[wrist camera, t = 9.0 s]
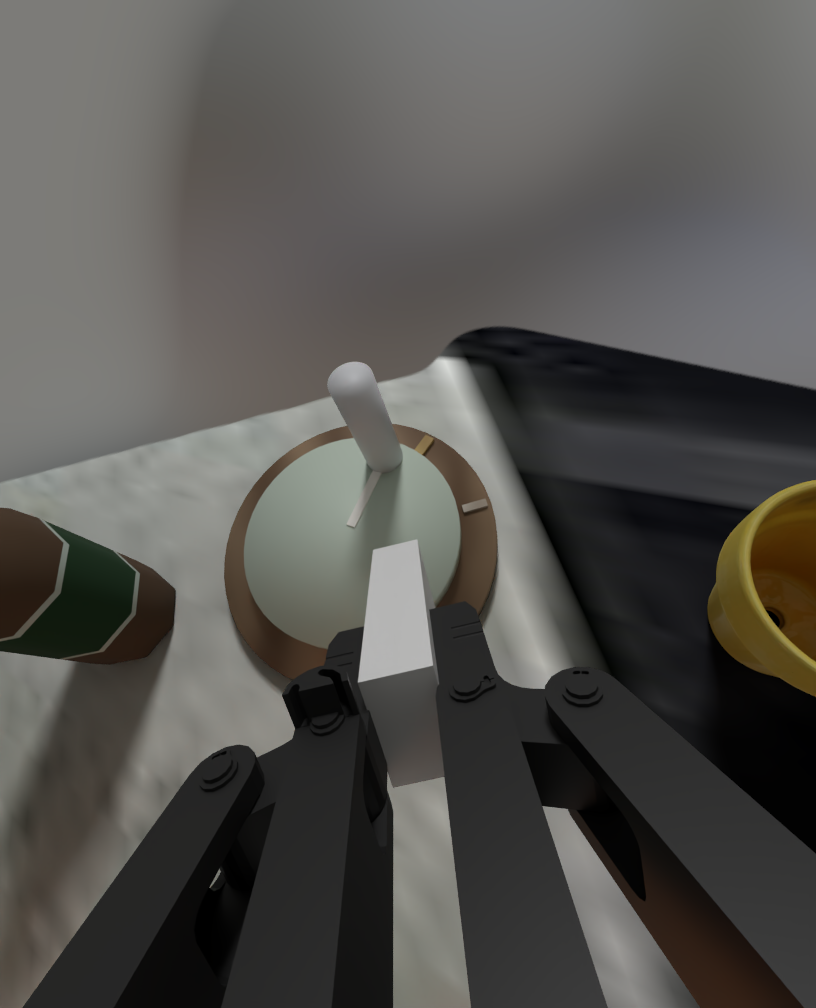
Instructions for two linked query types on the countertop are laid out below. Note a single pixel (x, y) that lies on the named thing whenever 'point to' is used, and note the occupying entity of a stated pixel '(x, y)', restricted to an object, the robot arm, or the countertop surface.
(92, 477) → the countertop surface
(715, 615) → the plant pot
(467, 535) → the walnut base
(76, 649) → the beer bottle
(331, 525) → the capstan dial
